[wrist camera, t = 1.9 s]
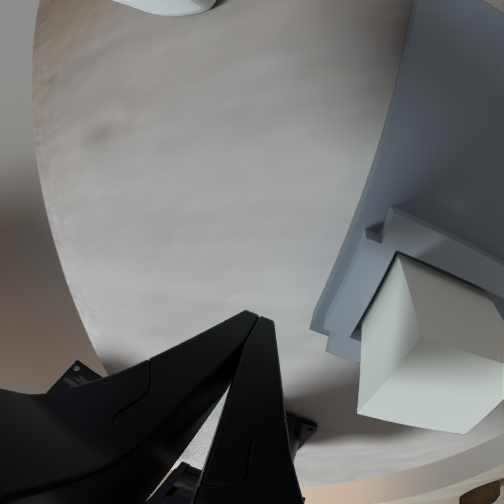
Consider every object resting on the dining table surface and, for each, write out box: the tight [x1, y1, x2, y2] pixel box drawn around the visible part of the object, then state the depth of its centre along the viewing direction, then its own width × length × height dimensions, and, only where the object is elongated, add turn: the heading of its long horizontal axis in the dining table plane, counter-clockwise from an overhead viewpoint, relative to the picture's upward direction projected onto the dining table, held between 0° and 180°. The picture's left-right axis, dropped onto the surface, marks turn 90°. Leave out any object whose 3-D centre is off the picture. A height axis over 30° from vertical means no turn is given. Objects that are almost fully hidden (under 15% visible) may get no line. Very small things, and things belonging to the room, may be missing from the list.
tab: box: [357, 253, 504, 434], centre depth 8 cm, size 4×5×5 cm
